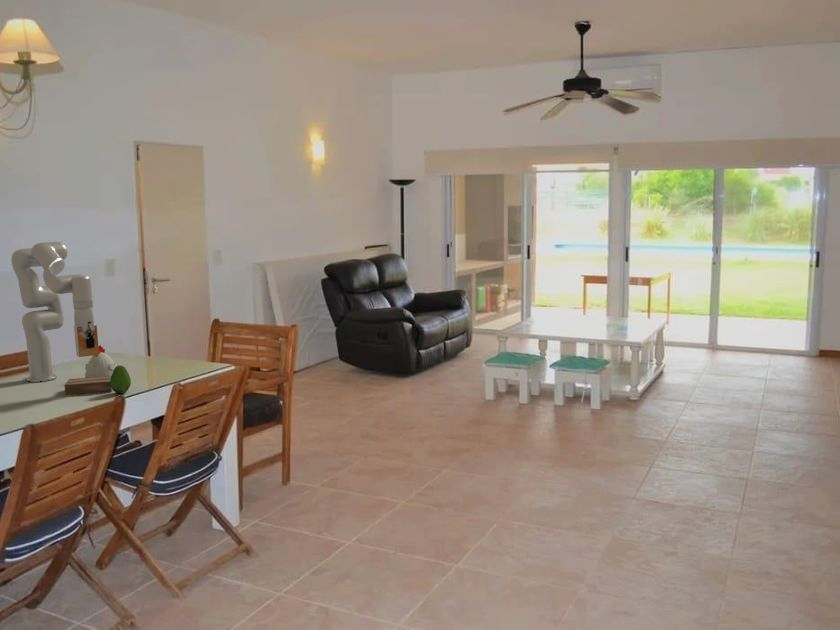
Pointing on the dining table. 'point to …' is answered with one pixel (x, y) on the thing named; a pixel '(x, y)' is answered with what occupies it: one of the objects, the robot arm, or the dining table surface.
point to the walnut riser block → (88, 385)
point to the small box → (81, 343)
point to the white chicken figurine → (100, 365)
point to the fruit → (120, 380)
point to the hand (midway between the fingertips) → (87, 346)
